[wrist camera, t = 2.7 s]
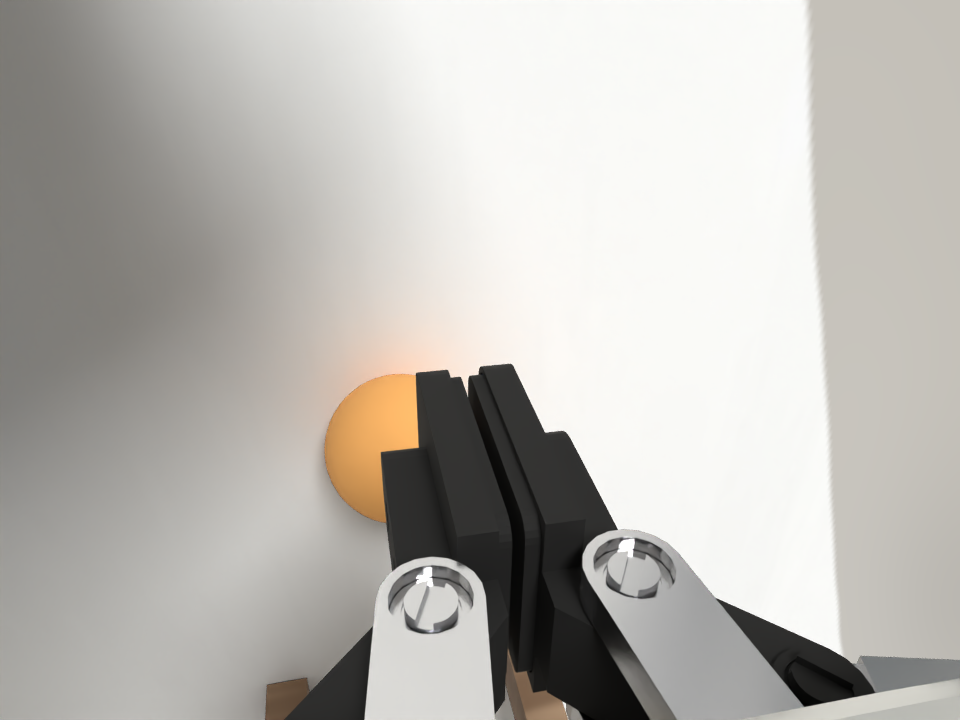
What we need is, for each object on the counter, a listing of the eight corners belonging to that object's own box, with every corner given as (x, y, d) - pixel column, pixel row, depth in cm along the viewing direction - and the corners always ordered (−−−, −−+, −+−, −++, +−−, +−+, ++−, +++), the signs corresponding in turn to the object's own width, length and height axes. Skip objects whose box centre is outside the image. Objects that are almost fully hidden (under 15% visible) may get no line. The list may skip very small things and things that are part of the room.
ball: (315, 354, 27) (318, 443, 22) (459, 340, 28) (490, 423, 23) (329, 467, 30) (334, 567, 25) (459, 451, 31) (487, 544, 26)
